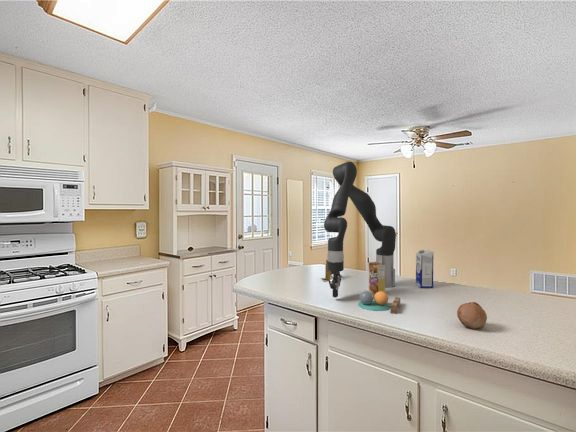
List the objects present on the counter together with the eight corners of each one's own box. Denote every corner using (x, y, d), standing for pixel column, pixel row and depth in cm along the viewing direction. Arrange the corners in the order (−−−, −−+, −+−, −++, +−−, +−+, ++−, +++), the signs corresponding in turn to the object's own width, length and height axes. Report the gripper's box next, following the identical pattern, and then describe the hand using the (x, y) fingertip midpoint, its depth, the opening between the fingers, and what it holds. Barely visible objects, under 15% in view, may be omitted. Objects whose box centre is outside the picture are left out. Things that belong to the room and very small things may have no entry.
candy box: (368, 291, 165) (368, 261, 165) (375, 290, 167) (375, 261, 166) (377, 296, 157) (378, 265, 156) (385, 295, 158) (385, 264, 158)
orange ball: (389, 299, 145) (376, 293, 148) (390, 292, 141) (377, 286, 143) (384, 309, 142) (371, 304, 144) (385, 303, 137) (372, 297, 140)
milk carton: (433, 288, 171) (433, 251, 171) (420, 288, 171) (421, 251, 171) (427, 285, 178) (428, 249, 178) (415, 284, 179) (416, 249, 178)
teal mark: (380, 299, 150) (380, 299, 150) (397, 309, 136) (397, 308, 136) (352, 302, 147) (352, 301, 147) (367, 311, 133) (367, 311, 133)
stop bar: (395, 303, 144) (395, 297, 144) (400, 304, 143) (400, 297, 143) (390, 313, 132) (390, 305, 132) (395, 313, 131) (395, 306, 131)
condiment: (337, 281, 188) (337, 260, 187) (323, 281, 187) (323, 261, 186) (334, 278, 195) (334, 258, 195) (320, 278, 194) (320, 259, 193)
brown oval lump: (473, 332, 120) (479, 306, 122) (489, 335, 110) (495, 307, 113) (449, 322, 120) (455, 296, 122) (463, 324, 111) (469, 297, 113)
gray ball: (374, 297, 146) (361, 291, 148) (376, 292, 141) (363, 286, 143) (369, 309, 143) (356, 302, 145) (371, 304, 138) (358, 298, 140)
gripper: (332, 257, 157) (332, 292, 157) (322, 261, 145) (322, 299, 145) (347, 258, 153) (347, 294, 154) (338, 263, 141) (338, 301, 142)
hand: (335, 297), depth 150 cm, fingers closed
